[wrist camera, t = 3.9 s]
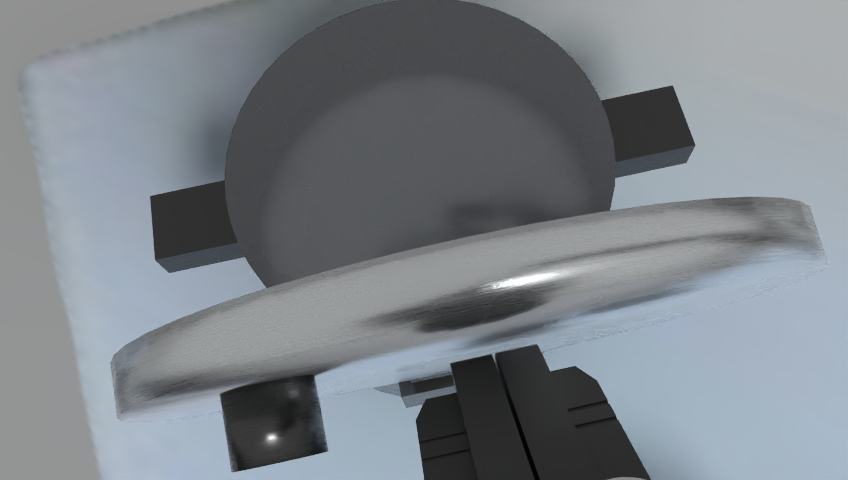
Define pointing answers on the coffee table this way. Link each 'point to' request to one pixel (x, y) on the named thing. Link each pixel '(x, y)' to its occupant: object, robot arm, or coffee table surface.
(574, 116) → the cooker pot
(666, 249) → the cooker lid
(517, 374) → the robot arm
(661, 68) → the coffee table surface
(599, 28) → the coffee table surface
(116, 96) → the coffee table surface
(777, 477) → the coffee table surface
